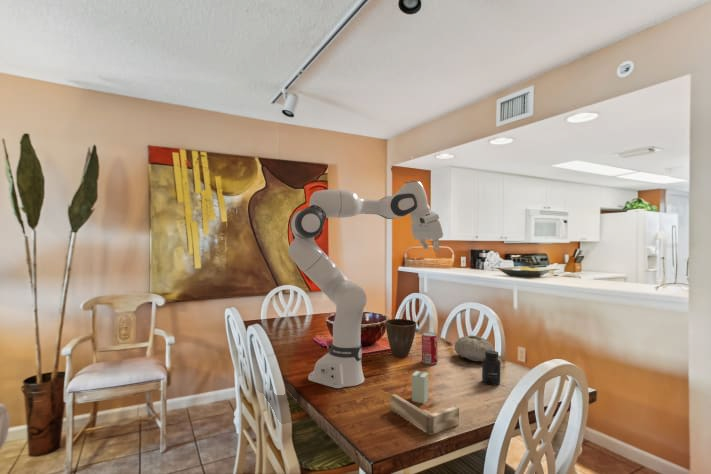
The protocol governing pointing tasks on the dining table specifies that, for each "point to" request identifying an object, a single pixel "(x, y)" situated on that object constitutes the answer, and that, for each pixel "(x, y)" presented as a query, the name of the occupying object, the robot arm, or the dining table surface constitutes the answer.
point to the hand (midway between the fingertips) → (431, 248)
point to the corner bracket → (425, 416)
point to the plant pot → (400, 336)
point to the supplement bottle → (491, 368)
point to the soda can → (429, 348)
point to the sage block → (420, 387)
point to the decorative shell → (472, 347)
